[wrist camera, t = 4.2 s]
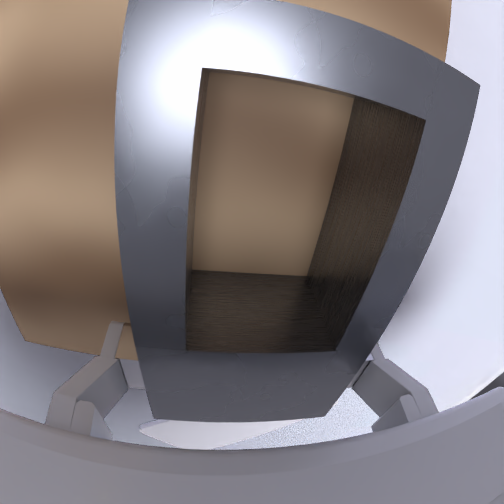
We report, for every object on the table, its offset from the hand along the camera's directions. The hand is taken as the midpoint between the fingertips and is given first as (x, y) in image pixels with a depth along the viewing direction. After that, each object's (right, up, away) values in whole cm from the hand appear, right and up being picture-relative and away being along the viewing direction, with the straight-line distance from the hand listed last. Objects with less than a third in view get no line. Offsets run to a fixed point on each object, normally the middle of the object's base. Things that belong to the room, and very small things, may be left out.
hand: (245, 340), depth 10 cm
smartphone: (-1, -9, +10) cm, 14 cm away
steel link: (0, +4, -1) cm, 4 cm away
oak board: (-2, +7, -2) cm, 8 cm away
